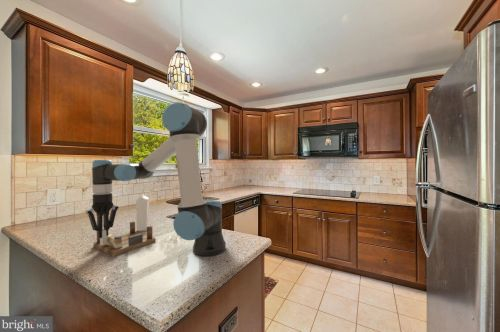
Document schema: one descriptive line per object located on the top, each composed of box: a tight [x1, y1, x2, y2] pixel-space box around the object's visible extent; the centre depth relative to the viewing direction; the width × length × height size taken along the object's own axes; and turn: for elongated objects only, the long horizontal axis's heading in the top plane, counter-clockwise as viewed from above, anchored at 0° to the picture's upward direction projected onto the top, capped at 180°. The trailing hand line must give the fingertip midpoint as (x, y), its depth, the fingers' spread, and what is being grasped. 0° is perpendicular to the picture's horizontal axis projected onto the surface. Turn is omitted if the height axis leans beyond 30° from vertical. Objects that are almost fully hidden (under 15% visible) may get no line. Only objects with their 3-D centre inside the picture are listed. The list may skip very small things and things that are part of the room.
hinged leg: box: [106, 233, 122, 248], centre depth 99 cm, size 12×3×5 cm, turn 58°
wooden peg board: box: [93, 221, 157, 257], centre depth 106 cm, size 20×20×8 cm
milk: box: [135, 193, 151, 232], centre depth 130 cm, size 6×6×22 cm
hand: (103, 244), depth 97 cm, fingers closed
